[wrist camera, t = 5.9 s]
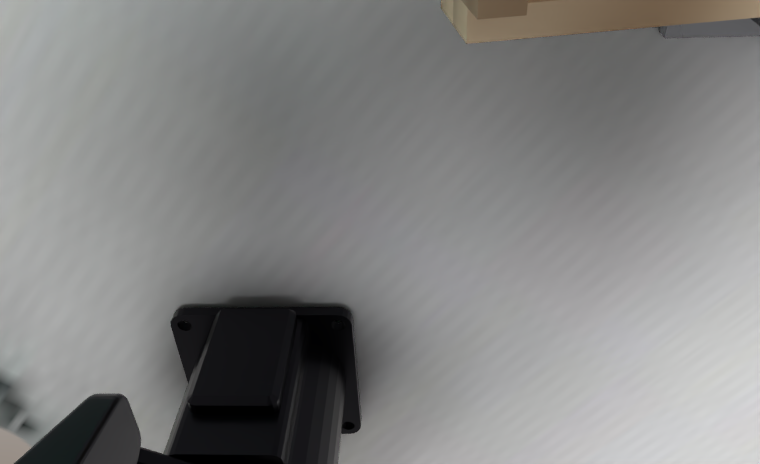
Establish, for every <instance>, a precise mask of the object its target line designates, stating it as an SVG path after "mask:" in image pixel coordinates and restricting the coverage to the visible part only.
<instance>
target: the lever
mask: <svg viewBox="0 0 760 464" xmlns="http://www.w3.org/2000/svg"><path fill="white" fill-rule="evenodd" d="M441 9H442V10H443V12H444V13H445V15H446V16H447V17H448V19H449V20H450V22H451V23H452V24H453V26H454V27H455V29H456V30H457V31H458V33H459V34H460V36H461V37H462V38H463V40H464V41H465V43H466V44H470V43H481V42H492V41H503V40H514V39H525V38H537V37H548V36H559V35H570V34H581V33H592V32H603V31H614V30H625V29H637V28H648V27H659V26H670V25H681V24H692V23H703V22H714V21H725V20H736V19H748V18H759V17H760V0H441Z"/></svg>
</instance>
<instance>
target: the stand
mask: <svg viewBox="0 0 760 464" xmlns="http://www.w3.org/2000/svg"><path fill="white" fill-rule="evenodd" d="M659 32H660V33H661V34H662V36H663V37H664V38H691V37H732V36H760V17H759V18H748V19H736V20H725V21H714V22H703V23H692V24H681V25H670V26H660V29H659Z"/></svg>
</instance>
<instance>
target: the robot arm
mask: <svg viewBox="0 0 760 464" xmlns="http://www.w3.org/2000/svg"><path fill="white" fill-rule="evenodd" d="M183 320H184V321H188V322H189V323H185V322H184V321H183ZM335 320H340V321H342V323H337V322H335ZM171 328H172V331H173V334H174V338H175V341H176V344H177V348H178V351H179V354H180V357H181V361H182V364H183V367H184V371H185V374H186V377H187V380H188V386H187V389H186V391H185V394H184V397H183V400H182V403H181V406H180V408H179V411H178V414H177V417H176V420H175V422H174V425H173V428H172V431H171V434H170V437H169V439H168V442H167V445H166V448H165V451H164V454H162V453H158V452H155V451H151V450H148V449H145V448H141V447H140V446H141V437H140V431H139V428H138V426H137V423H136V420H135V418H134V415H133V412H132V410H131V407H130V404H129V402H128V400H127V398H126V397H125V396H124V395H122V394H94V395H92V396H90V397H88V398H87V399H86V400H85V401H83V402H82V403H81V404H80V405H79V406H78V407H77V408H76V409H75V410H73V411H72V412H71V413H70V414H69V415H68V416H67V417H66V418H64V419H63V420H62V421H61V422H60V423H59V424H58V425H57V426H55V427H54V428H53V429H52V430H51V431H50V432H49V433H48V434H46V435H45V436H44V437H43V438H42V439H41V440H40V441H39V442H38V443H36V444H35V445H34V446H33V447H32V448H31V449H30V450H29V451H27V452H26V453H25V454H24V455H23V456H22V457H21V458H20V459H18V460H17V461H16V462H15V463H14V464H338V458H339V448H340V439H341V434H350V433H355V432H357V431H358V430H359V429H360V427H361V408H360V396H359V385H358V373H357V361H356V349H355V338H354V326H353V317H352V314H351V313H350V312H349V311H348V310H346V309H344V308H340V307H258V308H180V309H178V310H176V312H175V313H174V315H173V318H172V320H171Z"/></svg>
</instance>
